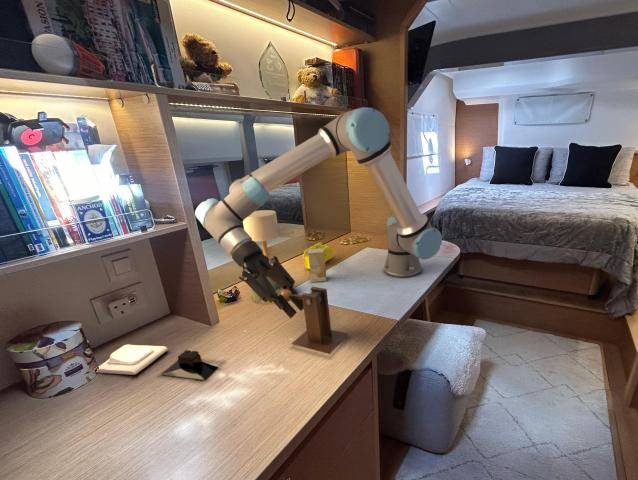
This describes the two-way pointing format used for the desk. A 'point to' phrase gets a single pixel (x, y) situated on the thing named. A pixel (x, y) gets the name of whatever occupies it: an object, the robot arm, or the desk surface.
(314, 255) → the cosmetic box
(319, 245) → the yellow toy chassis
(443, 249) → the desk surface
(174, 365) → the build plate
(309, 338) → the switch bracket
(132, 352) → the light switch
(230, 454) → the desk surface
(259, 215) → the lamp
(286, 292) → the lever with ball knob
